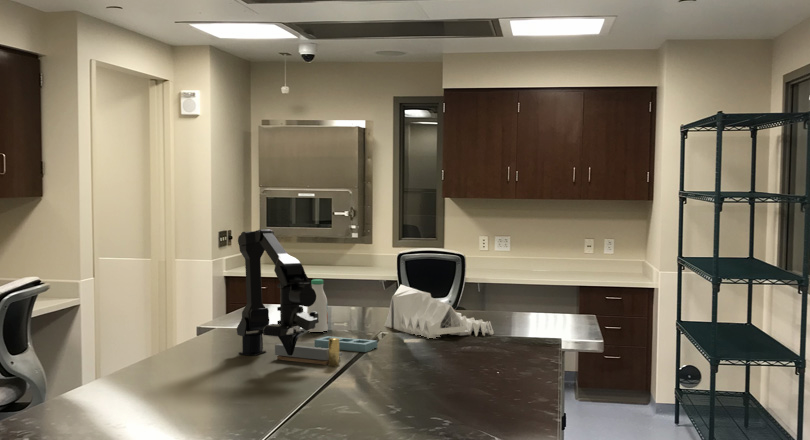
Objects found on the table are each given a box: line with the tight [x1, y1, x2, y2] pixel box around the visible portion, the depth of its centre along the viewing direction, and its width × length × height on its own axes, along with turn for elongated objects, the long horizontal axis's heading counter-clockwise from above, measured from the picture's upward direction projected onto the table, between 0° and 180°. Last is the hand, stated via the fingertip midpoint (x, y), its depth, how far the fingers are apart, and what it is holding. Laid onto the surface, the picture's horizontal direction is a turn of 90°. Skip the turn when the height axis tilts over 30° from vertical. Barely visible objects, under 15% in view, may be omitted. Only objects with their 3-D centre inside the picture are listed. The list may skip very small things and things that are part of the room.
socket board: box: [314, 335, 378, 353], centre depth 245 cm, size 8×20×2 cm, turn 63°
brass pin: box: [328, 338, 340, 368], centre depth 217 cm, size 3×3×8 cm
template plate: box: [276, 355, 341, 366], centre depth 226 cm, size 8×18×1 cm, turn 63°
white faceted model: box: [384, 283, 494, 339], centre depth 282 cm, size 41×27×17 cm, turn 30°
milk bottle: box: [306, 278, 329, 333], centre depth 278 cm, size 8×8×20 cm
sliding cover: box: [274, 343, 343, 360], centre depth 226 cm, size 9×19×3 cm, turn 63°
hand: (290, 355), depth 217 cm, fingers closed
